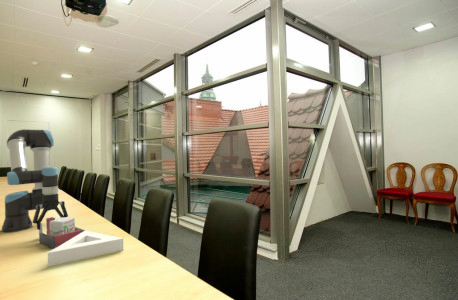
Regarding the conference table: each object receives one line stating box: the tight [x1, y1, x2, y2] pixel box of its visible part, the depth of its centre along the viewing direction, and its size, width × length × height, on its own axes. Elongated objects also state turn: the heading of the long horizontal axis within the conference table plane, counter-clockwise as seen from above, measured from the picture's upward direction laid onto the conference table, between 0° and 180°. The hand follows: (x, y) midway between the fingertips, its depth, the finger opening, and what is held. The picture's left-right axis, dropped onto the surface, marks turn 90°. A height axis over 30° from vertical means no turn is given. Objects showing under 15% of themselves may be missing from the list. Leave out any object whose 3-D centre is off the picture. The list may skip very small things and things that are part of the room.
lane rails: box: [38, 226, 86, 250], centre depth 139 cm, size 16×16×5 cm
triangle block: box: [47, 230, 124, 267], centre depth 127 cm, size 30×26×6 cm
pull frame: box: [45, 216, 81, 248], centre depth 142 cm, size 24×12×10 cm, turn 54°
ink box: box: [49, 216, 76, 238], centre depth 139 cm, size 8×8×12 cm
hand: (51, 232), depth 147 cm, fingers open, 10 cm apart
